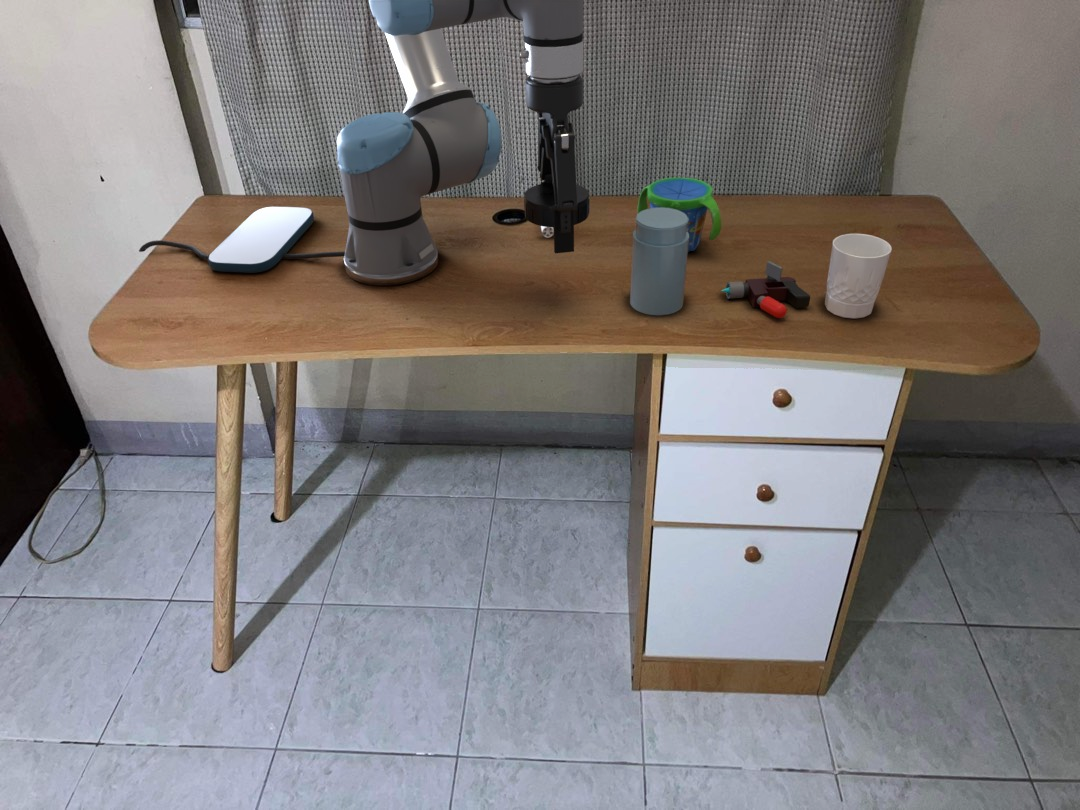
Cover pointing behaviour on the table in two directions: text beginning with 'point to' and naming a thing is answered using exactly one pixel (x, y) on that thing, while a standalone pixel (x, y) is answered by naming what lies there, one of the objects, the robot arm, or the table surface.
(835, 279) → the white cup
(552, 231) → the marker
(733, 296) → the toy gun
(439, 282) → the table surface
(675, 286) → the jar
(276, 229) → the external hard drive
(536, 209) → the lid
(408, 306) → the table surface
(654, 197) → the snack cup
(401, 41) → the robot arm
